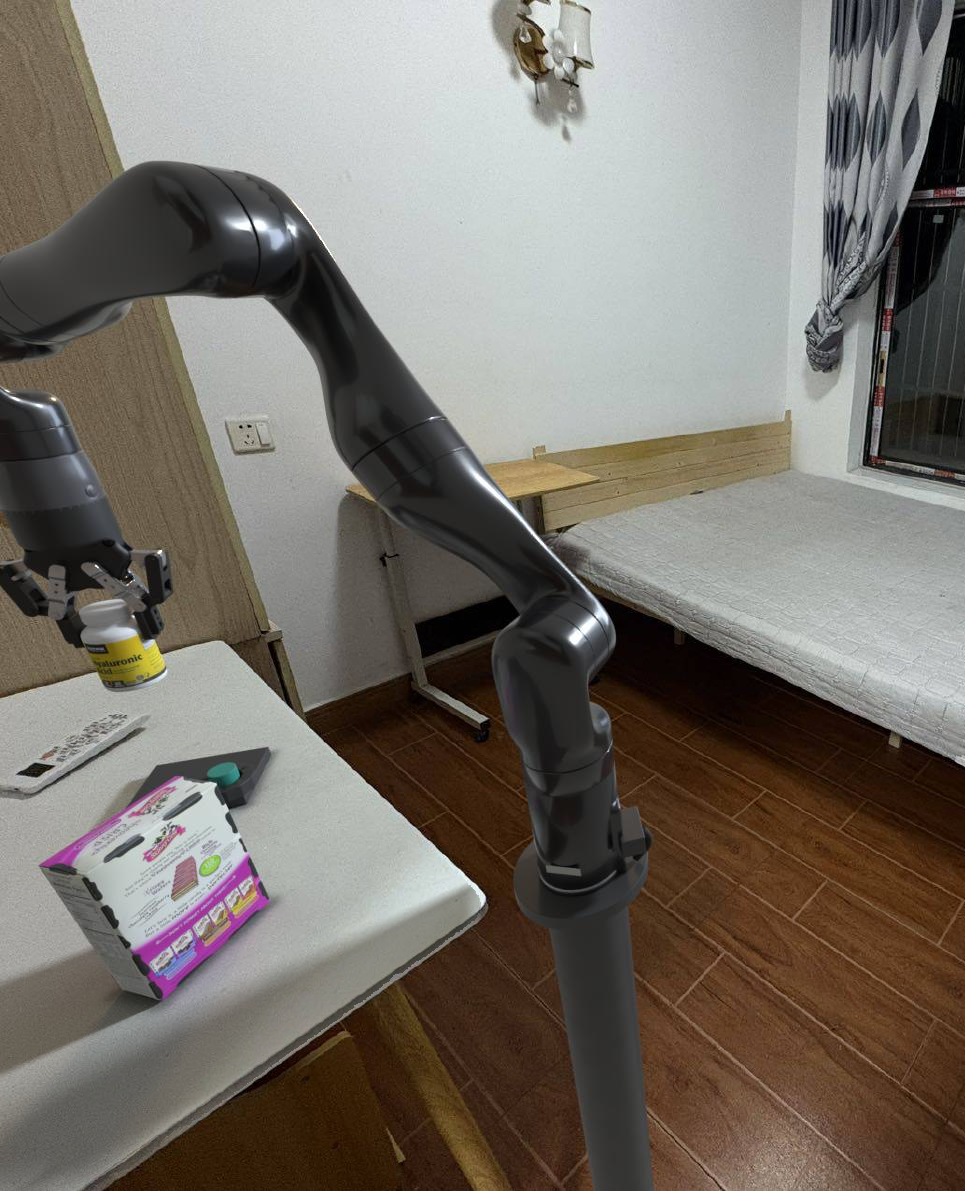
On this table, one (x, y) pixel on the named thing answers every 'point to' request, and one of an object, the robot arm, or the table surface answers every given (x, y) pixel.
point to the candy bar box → (160, 885)
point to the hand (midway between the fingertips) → (119, 640)
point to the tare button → (223, 774)
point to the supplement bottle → (120, 647)
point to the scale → (233, 794)
